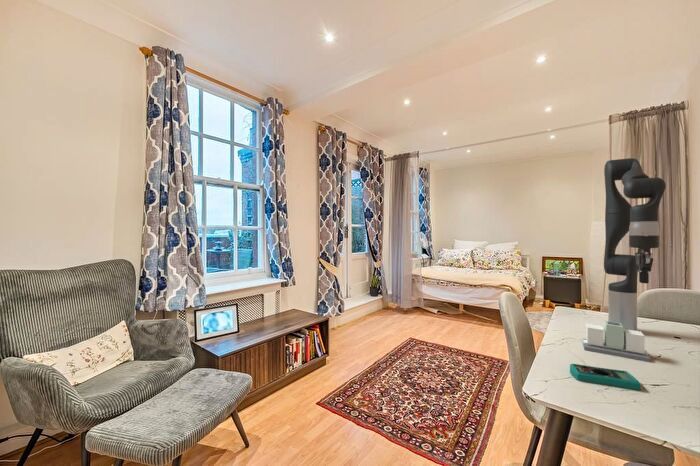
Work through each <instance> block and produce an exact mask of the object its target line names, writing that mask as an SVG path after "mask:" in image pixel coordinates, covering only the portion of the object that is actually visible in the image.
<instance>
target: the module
mask: <svg viewBox="0 0 700 466" xmlns="http://www.w3.org/2000/svg"><path fill="white" fill-rule="evenodd" d="M603 323H604V325H603V326H604V328H603V330H604V342H605V345H606V347H609V348H615V349H621V350H623V326H622V324H621V323H616V322H608V321H606V320H604V322H603Z"/></svg>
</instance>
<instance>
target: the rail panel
mask: <svg viewBox="0 0 700 466" xmlns="http://www.w3.org/2000/svg"><path fill="white" fill-rule="evenodd" d="M585 325H586V328H585V329H586V332H585V333H586V338H582V345H583V350H584V351H586V352H587V351H588V352H595V353H599V354H604V355H610V356H615V357H620V358H625V359H632V360H636V361H642V362H648V363H651V357H650V356H649V353H648V351H646V349H645V334H644V333H643V332H642V331H639V330H637V331H634V330H627V329H623V350H621V349H615V348H609V347H606V345H605V342H604V328H603V326H602V325H597V324H590V323H586V324H585Z"/></svg>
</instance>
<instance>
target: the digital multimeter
mask: <svg viewBox="0 0 700 466" xmlns="http://www.w3.org/2000/svg"><path fill="white" fill-rule="evenodd" d="M569 373H570V375H571V376H572V377H573V378H574V379H575V380H577V381H579V382H584V383H585V382H586V383H591V384H598V385H605V386H611V387H617V388H623V389H629V390H635V391H641V383H640V381H639V380H638V379H637V378H636V377H635V376H633V375H632V374H631V373H630V372H628V371H627V370H621V369H620V370H619V369H612V368H605V367H597V366H591V365H584V364H578V363H570V364H569Z"/></svg>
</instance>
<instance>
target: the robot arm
mask: <svg viewBox="0 0 700 466" xmlns="http://www.w3.org/2000/svg"><path fill="white" fill-rule="evenodd" d="M603 173H604V175H603V176H604V187H605V188H604V189H605V208H604V209H605V210H604V213H605V215H604V226H605V246H604V254H603V255H604V256H603V270H604V272H605V273H606V274H607V275H614V276H622V277H625V279H623V280H620V281H614V282H611V283H608V290H607V291H608V322H616V323H621V324H622V326H623V329H627V330H634V331H638V282H639V283H641V284H648V283H650V282H649V281H650V280H649V275H650V274H649V273H651V272H652V267H653V264H654V263H653V262H654V255H653V253H651V249H659V247H660V225H659V207H660V204H661V200H662V197H663V195H664V193H665V190H666V186H667V185H666V181H665V180H664V179H663V178H661V177H649V176H648V175H647V174H646V173H645V172H644V170H643V166H642V165H641V163H640V161H639V160H638V159H637V158H634V157H631V158H620V159H619V158H618V159H610V160H607V161H606V162H605V164H604V172H603ZM616 181H621V184H622V185H623V195H624V196H625V197H626V198H628V199H632V200H634V199H635V200H636V199H648V200H647V202H646V203H642V204H638V205H634V206H632V205H631V203H629V201H628V200H627V199H626V198H625V197H624V196H623V195H622V194H621V192H620V191H619V189H618V187H617V185H616ZM627 234H628V235H629V236H628V241H629V242H628V245H629V246H628V247H629V248H635V249H636V250H637V252H635V253H634V255H633V254H621V253H620V254H616V251H617V247H618V246H619V243H620V242H621V241H622V240H623V238H624V237H625V236H626V235H627Z"/></svg>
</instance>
